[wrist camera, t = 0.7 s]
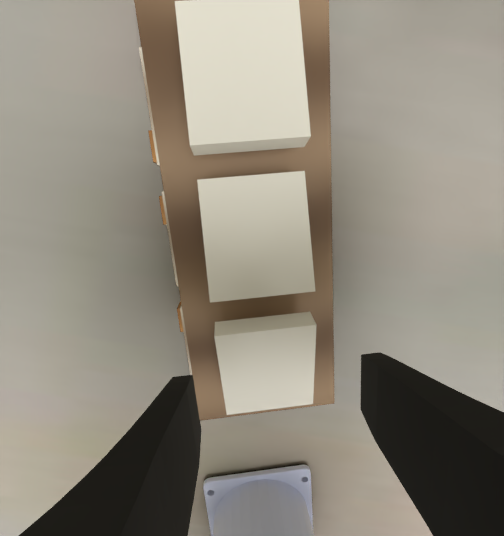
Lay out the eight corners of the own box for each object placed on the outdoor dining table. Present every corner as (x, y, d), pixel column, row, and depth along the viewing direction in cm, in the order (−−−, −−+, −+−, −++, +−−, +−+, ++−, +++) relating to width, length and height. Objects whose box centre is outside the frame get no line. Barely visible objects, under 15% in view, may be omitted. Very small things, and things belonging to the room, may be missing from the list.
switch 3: (307, 388, 15) (313, 404, 14) (226, 398, 15) (226, 415, 14) (310, 311, 13) (316, 325, 12) (215, 321, 13) (214, 336, 12)
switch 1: (304, 146, 11) (310, 136, 10) (193, 155, 11) (189, 145, 10) (292, 18, 11) (298, -5, 10) (180, 24, 11) (174, 1, 10)
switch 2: (309, 288, 13) (315, 291, 12) (211, 299, 13) (209, 302, 12) (299, 177, 13) (304, 170, 12) (200, 185, 12) (197, 179, 11)
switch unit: (319, 373, 20) (342, 418, 16) (197, 387, 19) (188, 438, 15) (308, 16, 15) (339, -53, 11) (142, 25, 14) (107, -44, 10)
